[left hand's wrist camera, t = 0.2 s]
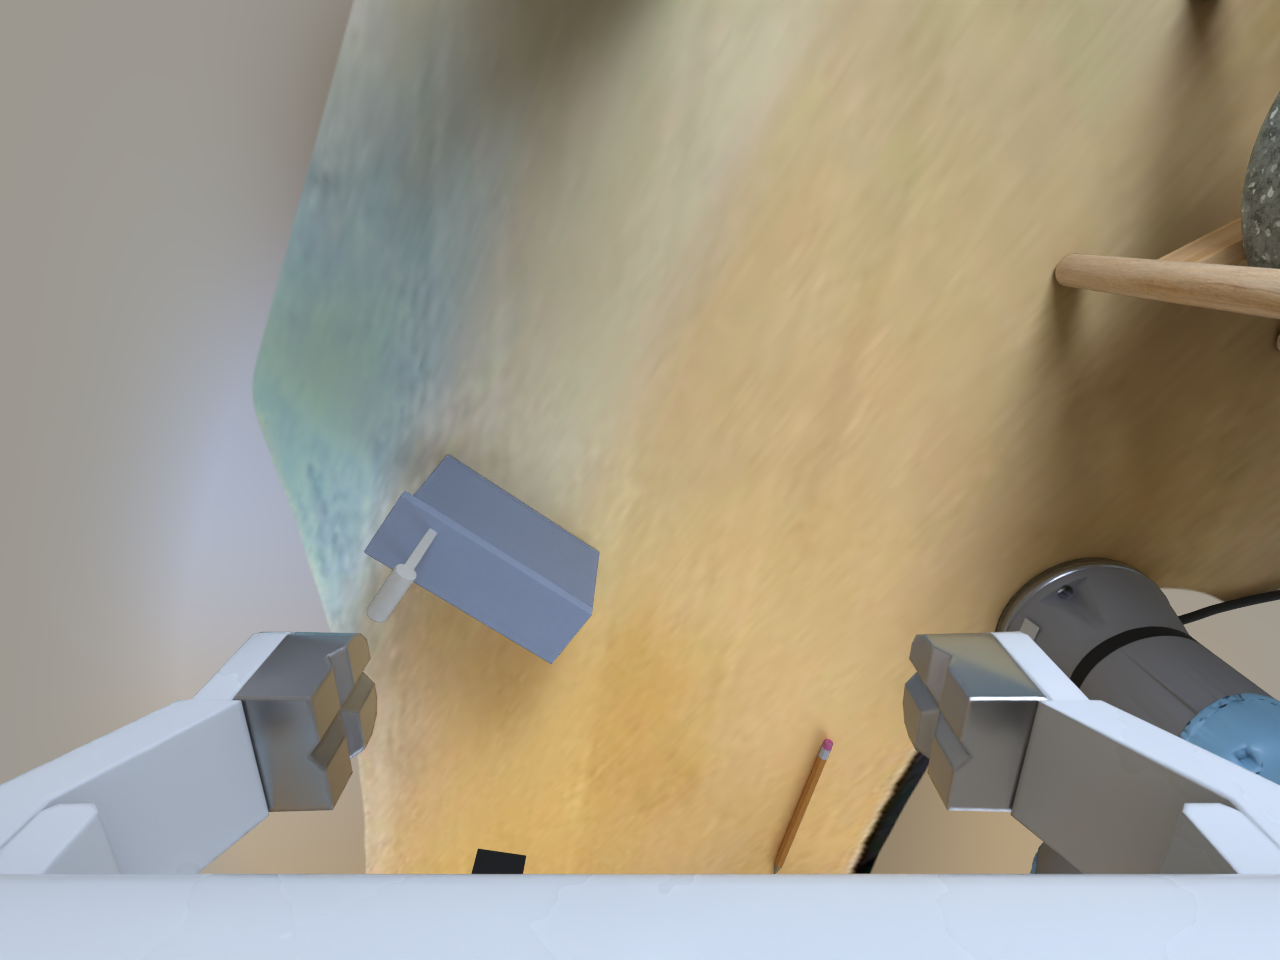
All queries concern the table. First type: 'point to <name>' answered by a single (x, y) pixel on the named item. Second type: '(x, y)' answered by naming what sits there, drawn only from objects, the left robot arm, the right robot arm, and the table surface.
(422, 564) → the lid
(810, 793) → the pencil
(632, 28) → the table surface
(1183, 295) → the planter
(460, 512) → the chest
